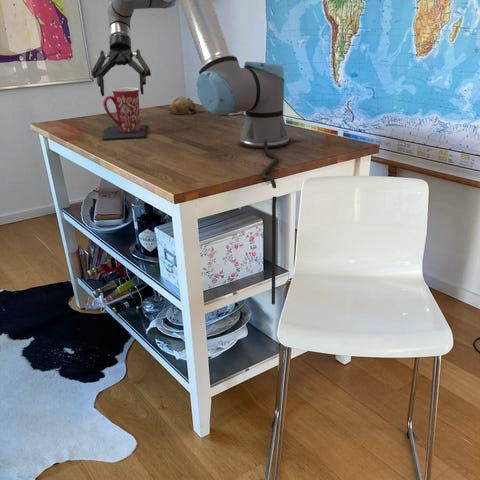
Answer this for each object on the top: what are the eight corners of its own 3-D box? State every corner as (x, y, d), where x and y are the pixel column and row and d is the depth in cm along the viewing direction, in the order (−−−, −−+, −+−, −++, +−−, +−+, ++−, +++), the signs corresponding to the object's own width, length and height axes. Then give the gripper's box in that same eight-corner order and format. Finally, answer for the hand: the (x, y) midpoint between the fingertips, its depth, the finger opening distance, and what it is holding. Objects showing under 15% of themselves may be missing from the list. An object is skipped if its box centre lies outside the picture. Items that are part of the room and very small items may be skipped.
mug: (139, 126, 188) (134, 86, 181) (147, 131, 181) (142, 89, 174) (104, 131, 183) (98, 89, 176) (111, 135, 176) (105, 92, 169)
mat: (145, 138, 175) (145, 136, 174) (103, 140, 173) (102, 138, 173) (146, 126, 192) (146, 124, 191) (108, 128, 190) (108, 126, 190)
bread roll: (181, 124, 210) (187, 106, 205) (163, 111, 212) (168, 92, 207) (196, 120, 217) (202, 102, 212) (178, 107, 219) (183, 89, 214)
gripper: (156, 47, 189) (159, 98, 184) (87, 50, 187) (88, 101, 182) (154, 31, 181) (157, 83, 176) (82, 34, 180) (82, 86, 175)
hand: (122, 92), depth 179 cm, fingers open, 13 cm apart
